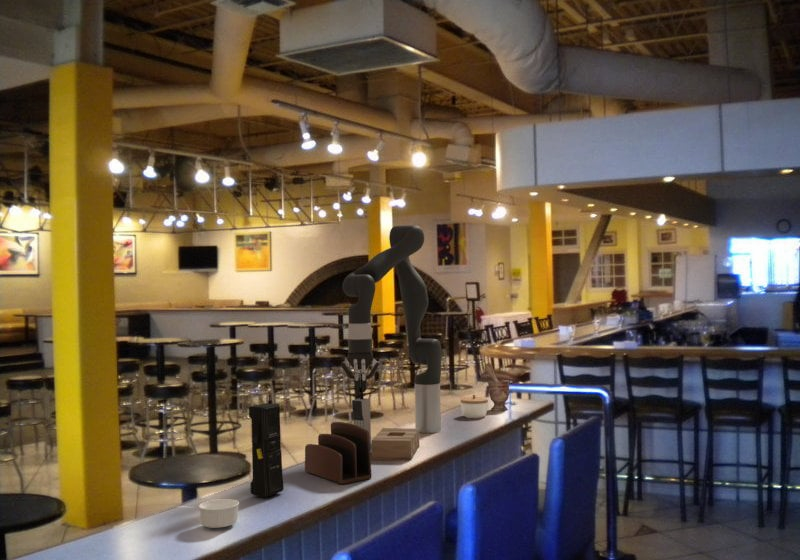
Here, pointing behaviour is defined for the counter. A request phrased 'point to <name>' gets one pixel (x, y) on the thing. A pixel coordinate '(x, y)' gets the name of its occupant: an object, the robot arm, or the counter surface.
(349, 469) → the letter holder
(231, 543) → the counter surface
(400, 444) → the walnut dock rack
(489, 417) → the counter surface
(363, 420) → the vintage mobile phone
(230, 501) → the ramekin
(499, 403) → the mortar and pestle
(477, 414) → the lidded jar
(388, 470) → the counter surface
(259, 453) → the portable radio
